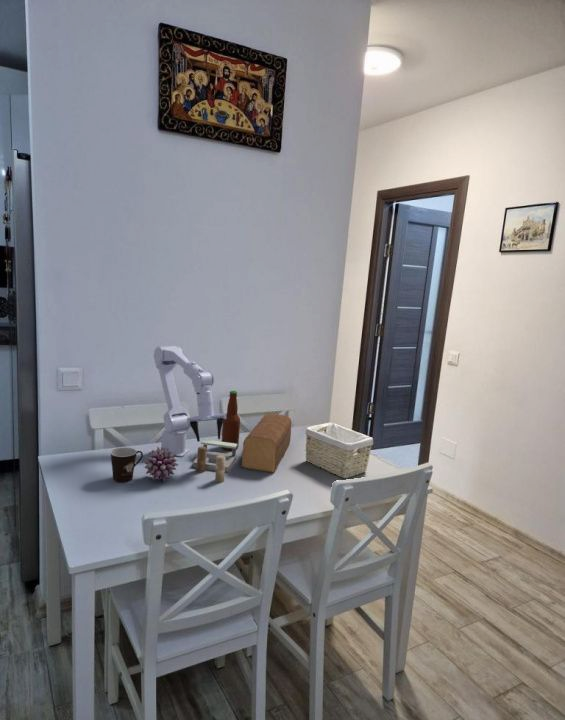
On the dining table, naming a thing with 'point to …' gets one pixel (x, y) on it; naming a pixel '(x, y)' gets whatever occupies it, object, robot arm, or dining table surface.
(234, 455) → the socket board
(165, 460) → the spiky ball
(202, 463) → the walnut peg
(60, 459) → the dining table surface
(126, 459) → the coffee mug
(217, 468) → the maple peg
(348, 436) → the storage basket
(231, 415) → the bottle
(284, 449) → the bread
